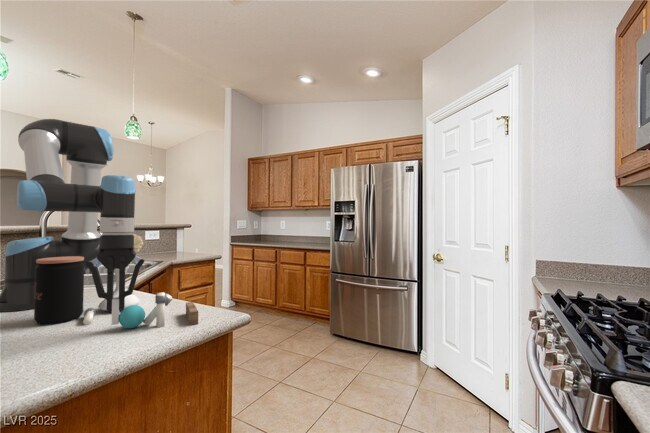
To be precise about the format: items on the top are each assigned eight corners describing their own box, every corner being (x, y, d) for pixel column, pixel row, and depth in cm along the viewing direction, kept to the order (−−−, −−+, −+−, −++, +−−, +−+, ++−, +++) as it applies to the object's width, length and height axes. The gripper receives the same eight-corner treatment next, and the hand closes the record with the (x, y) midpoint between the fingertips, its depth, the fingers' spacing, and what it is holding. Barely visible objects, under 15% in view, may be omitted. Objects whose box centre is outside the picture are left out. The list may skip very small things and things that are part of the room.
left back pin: (80, 325, 81) (83, 316, 89) (92, 325, 83) (94, 316, 90) (83, 316, 82) (85, 307, 89) (94, 316, 83) (96, 307, 90)
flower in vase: (88, 314, 92) (90, 234, 93) (114, 304, 103) (115, 232, 104) (131, 313, 92) (132, 234, 93) (151, 304, 104) (153, 232, 104)
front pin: (141, 319, 82) (165, 292, 85) (150, 324, 83) (173, 297, 86) (141, 322, 80) (165, 294, 83) (150, 327, 81) (173, 299, 84)
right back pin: (154, 325, 82) (155, 292, 82) (165, 323, 83) (166, 291, 83) (155, 328, 79) (155, 294, 80) (165, 326, 81) (166, 293, 81)
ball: (126, 300, 82) (150, 303, 84) (121, 322, 82) (145, 324, 84) (118, 307, 76) (143, 310, 78) (112, 330, 76) (138, 333, 78)
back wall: (185, 313, 92) (185, 302, 92) (192, 313, 93) (192, 301, 93) (190, 325, 82) (190, 312, 82) (198, 324, 83) (198, 311, 83)
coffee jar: (44, 316, 89) (46, 257, 90) (88, 312, 94) (89, 255, 94) (25, 327, 80) (27, 261, 80) (75, 322, 84) (76, 259, 84)
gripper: (83, 234, 72) (81, 332, 72) (145, 234, 79) (144, 323, 78) (89, 233, 79) (86, 323, 78) (146, 233, 85) (144, 315, 85)
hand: (115, 322), depth 78 cm, fingers closed
